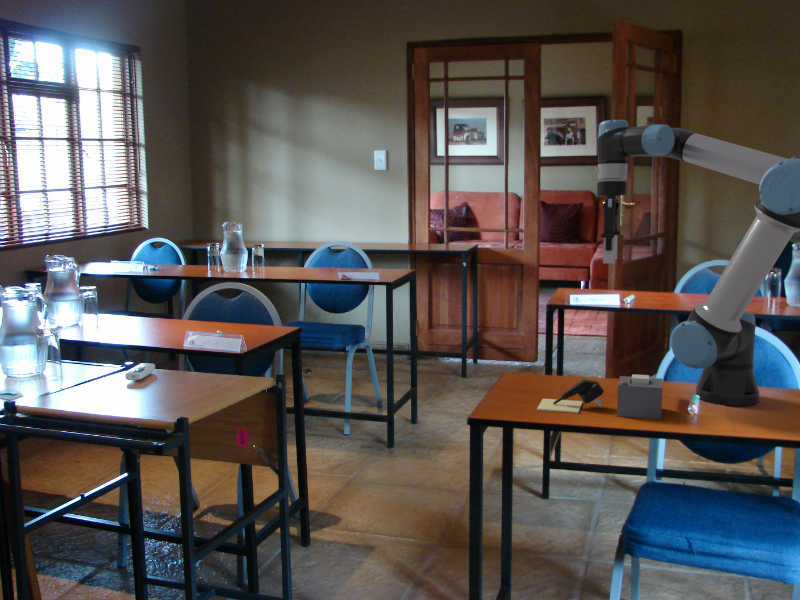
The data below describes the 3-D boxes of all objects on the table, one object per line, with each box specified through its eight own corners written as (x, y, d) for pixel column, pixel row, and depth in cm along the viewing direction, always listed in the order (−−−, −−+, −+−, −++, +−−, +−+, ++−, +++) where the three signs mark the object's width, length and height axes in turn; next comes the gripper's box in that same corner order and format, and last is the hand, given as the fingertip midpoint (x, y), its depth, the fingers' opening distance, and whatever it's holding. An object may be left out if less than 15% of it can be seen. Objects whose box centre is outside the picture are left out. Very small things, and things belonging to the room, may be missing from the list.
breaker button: (648, 391, 189) (649, 375, 188) (648, 395, 185) (649, 379, 185) (631, 390, 190) (632, 374, 190) (631, 394, 186) (631, 378, 186)
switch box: (661, 408, 191) (662, 376, 190) (661, 419, 182) (662, 385, 181) (619, 405, 195) (620, 373, 194) (617, 416, 185) (617, 382, 184)
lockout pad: (582, 402, 197) (582, 401, 197) (578, 413, 188) (578, 411, 188) (542, 400, 201) (542, 398, 201) (536, 410, 191) (536, 408, 191)
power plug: (552, 398, 197) (592, 372, 194) (569, 422, 197) (610, 397, 194) (551, 403, 192) (592, 377, 189) (569, 428, 192) (610, 402, 189)
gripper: (600, 181, 218) (599, 257, 220) (593, 180, 194) (591, 264, 197) (628, 181, 215) (626, 257, 218) (624, 179, 192) (622, 265, 194)
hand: (610, 261), depth 207 cm, fingers open, 13 cm apart
